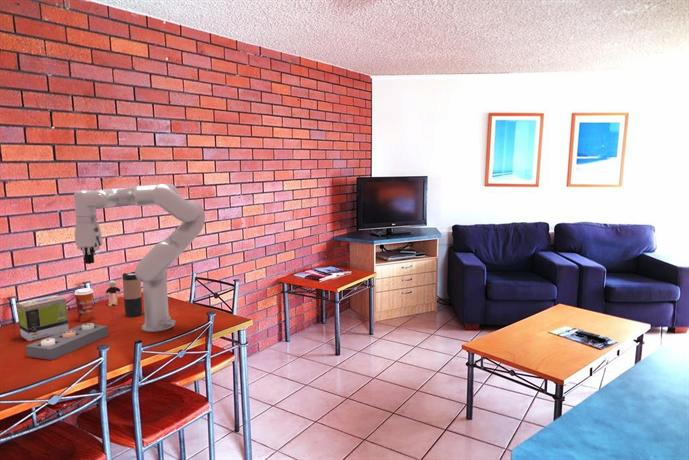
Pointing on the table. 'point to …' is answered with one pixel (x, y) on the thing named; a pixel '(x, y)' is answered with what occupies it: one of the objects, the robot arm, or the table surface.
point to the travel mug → (132, 295)
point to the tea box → (42, 317)
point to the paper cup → (84, 304)
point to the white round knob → (48, 342)
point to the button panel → (66, 342)
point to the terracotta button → (68, 334)
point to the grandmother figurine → (112, 293)
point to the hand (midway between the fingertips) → (89, 263)
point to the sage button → (88, 326)
